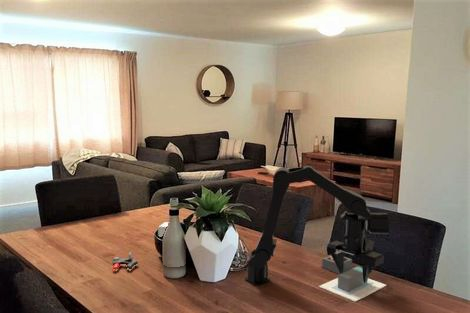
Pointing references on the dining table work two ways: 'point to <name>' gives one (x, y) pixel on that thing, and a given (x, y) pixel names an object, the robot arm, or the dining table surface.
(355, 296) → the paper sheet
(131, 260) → the grey and red toy
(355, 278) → the grey and teal block
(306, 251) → the dining table surface
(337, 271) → the button housing
